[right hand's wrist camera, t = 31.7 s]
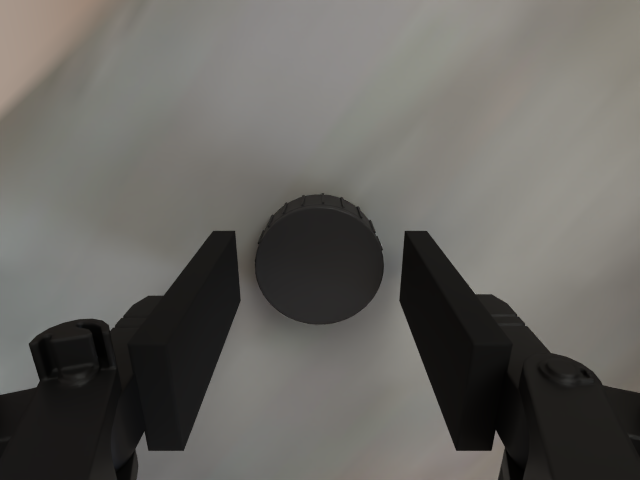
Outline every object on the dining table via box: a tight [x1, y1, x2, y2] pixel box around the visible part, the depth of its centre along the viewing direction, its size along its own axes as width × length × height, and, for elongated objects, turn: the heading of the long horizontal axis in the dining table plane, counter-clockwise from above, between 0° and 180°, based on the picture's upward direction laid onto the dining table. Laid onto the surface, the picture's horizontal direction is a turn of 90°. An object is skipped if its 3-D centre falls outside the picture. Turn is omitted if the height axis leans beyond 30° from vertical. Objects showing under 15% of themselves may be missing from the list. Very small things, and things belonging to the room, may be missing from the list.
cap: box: [255, 193, 384, 324], centre depth 15 cm, size 5×5×2 cm
